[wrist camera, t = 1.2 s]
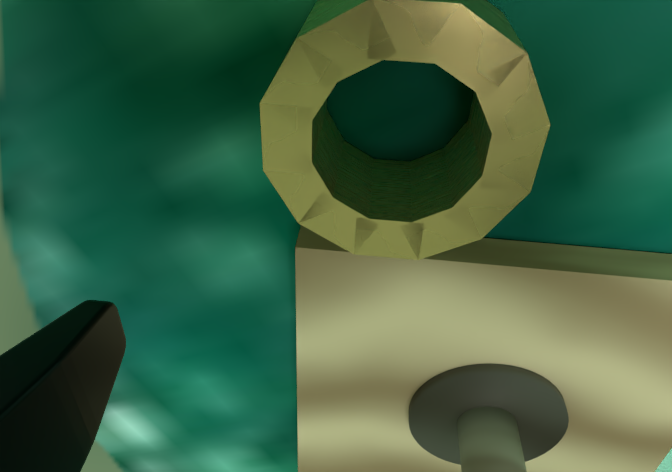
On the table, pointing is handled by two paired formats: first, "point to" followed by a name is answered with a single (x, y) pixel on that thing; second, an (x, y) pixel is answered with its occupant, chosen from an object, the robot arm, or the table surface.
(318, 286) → the stand
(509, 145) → the ring
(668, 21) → the table surface
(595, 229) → the table surface
